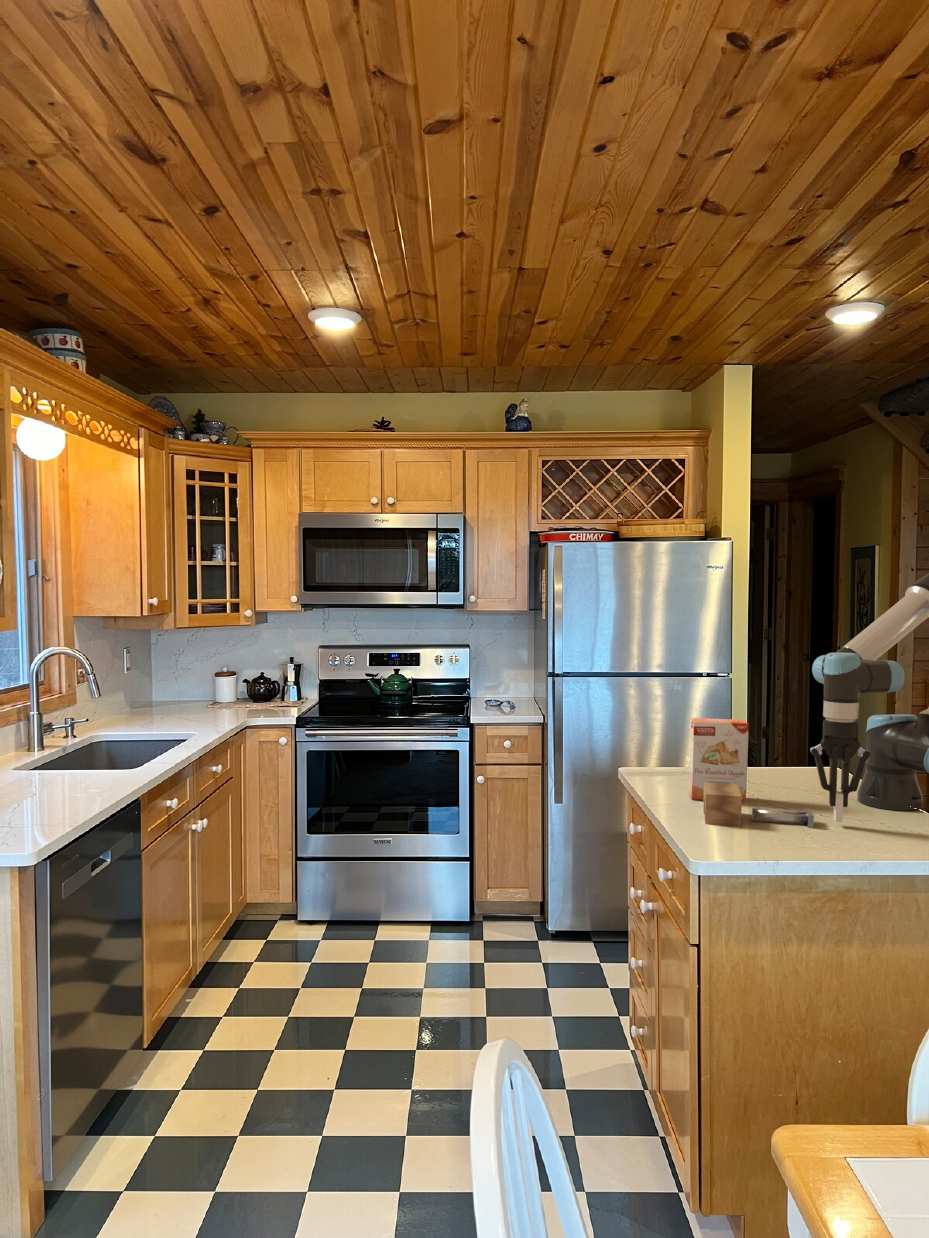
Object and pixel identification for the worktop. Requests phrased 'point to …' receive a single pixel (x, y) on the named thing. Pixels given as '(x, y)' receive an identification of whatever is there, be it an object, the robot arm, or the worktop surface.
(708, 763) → the cracker box
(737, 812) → the block
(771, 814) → the pin
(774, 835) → the worktop surface
